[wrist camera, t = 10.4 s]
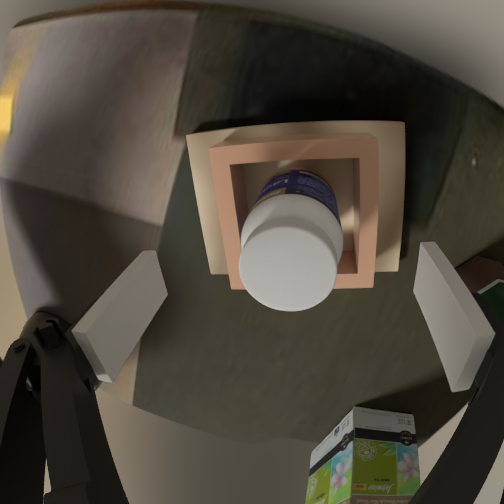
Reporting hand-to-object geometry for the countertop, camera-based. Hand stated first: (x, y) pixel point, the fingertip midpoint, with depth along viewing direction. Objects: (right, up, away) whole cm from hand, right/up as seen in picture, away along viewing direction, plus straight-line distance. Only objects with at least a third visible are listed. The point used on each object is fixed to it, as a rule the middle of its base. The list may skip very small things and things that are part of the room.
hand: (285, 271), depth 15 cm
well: (+2, +4, +8) cm, 10 cm away
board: (+2, +5, +9) cm, 11 cm away
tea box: (+14, -26, +24) cm, 38 cm away
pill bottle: (+2, +5, +9) cm, 10 cm away
